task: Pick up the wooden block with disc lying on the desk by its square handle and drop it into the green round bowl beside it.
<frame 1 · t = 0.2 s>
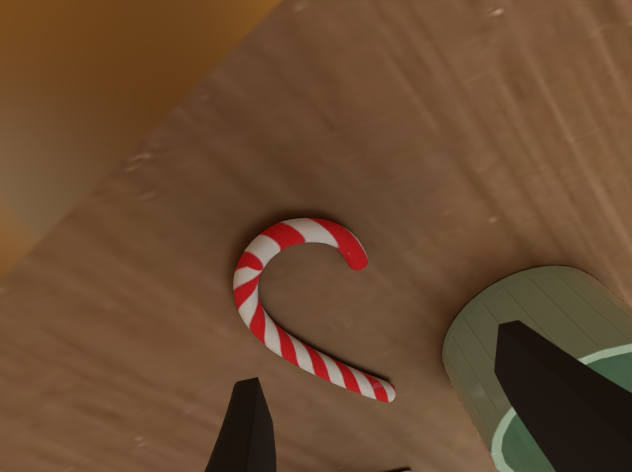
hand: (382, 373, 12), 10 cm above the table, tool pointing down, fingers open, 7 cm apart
candy cane: (335, 316, 24), on the table
green round bowl: (523, 336, 27), on the table
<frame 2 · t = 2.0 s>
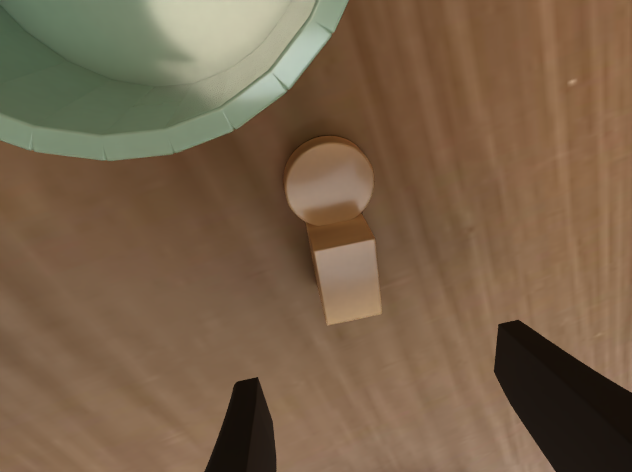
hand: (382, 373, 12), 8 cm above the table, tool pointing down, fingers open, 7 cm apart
wooden block with disc: (332, 220, 18), on the table
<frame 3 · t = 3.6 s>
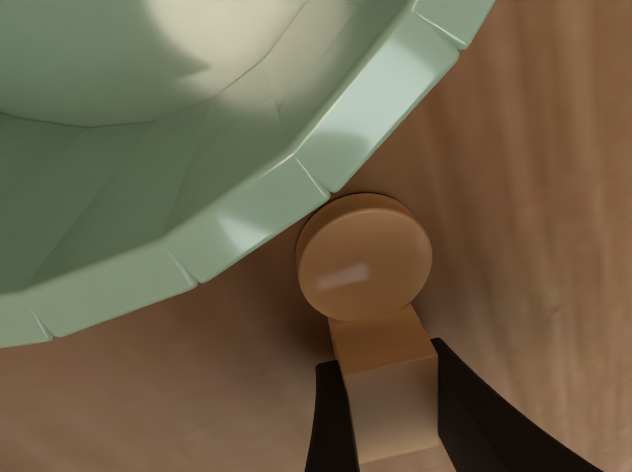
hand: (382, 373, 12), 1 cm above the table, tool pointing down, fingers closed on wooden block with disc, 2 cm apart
wooden block with disc: (364, 305, 13), on the table, touching gripper
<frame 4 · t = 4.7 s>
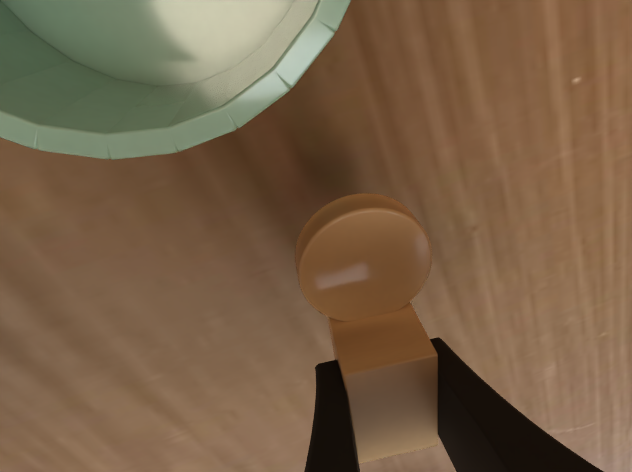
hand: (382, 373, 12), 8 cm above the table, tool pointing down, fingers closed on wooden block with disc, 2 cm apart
wooden block with disc: (364, 304, 13), point 6 cm above the table, touching gripper
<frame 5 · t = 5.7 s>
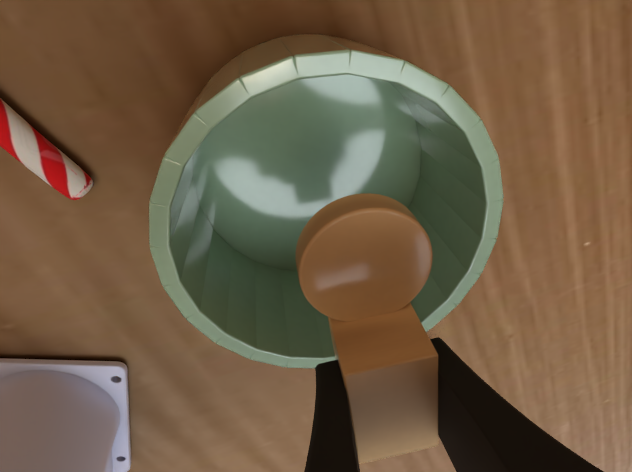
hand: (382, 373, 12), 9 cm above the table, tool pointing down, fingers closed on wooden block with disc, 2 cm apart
wooden block with disc: (365, 305, 13), point 8 cm above the table, touching gripper
green round bowl: (309, 170, 19), on the table
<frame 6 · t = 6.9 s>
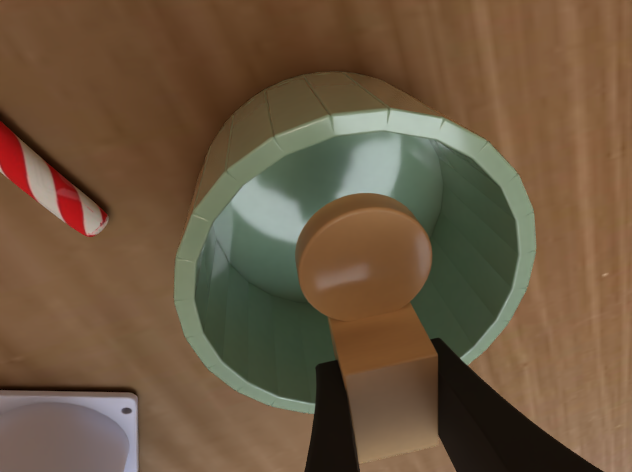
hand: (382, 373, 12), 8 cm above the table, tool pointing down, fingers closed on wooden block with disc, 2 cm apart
wooden block with disc: (364, 304, 13), point 7 cm above the table, touching gripper
candy cane: (9, 28, 14), on the table
green round bowl: (328, 205, 18), on the table
when the fingers open (6 cm above the table, at t = 8.7 s): wooden block with disc stays where it is, resting on green round bowl.
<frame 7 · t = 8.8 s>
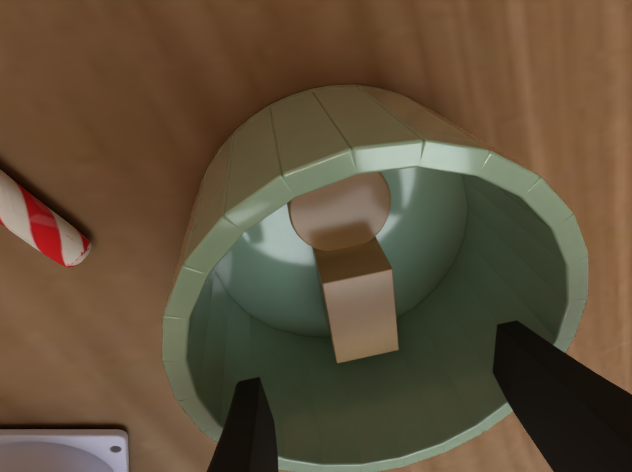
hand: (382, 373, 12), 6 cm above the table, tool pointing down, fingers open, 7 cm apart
wooden block with disc: (342, 242, 16), point 1 cm above the table, touching green round bowl
green round bowl: (338, 231, 17), on the table, touching wooden block with disc
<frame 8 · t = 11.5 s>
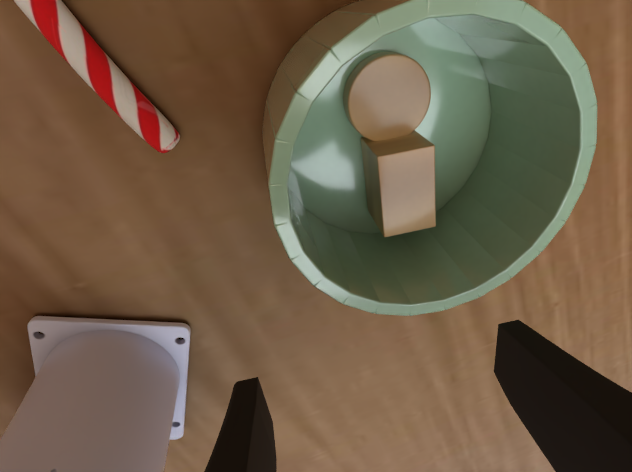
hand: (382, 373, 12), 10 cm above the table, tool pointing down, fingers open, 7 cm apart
wooden block with disc: (386, 140, 19), point 1 cm above the table, touching green round bowl
green round bowl: (382, 133, 19), on the table, touching wooden block with disc
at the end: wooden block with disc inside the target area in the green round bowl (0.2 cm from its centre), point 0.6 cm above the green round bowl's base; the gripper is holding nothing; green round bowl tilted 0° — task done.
